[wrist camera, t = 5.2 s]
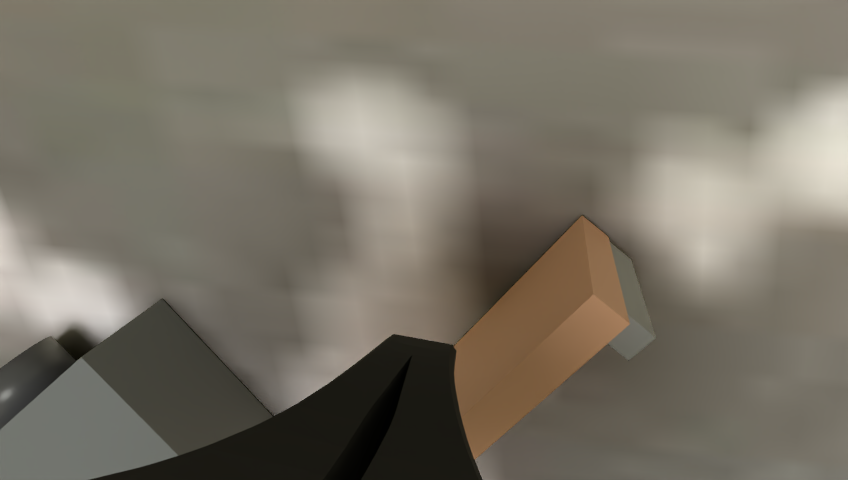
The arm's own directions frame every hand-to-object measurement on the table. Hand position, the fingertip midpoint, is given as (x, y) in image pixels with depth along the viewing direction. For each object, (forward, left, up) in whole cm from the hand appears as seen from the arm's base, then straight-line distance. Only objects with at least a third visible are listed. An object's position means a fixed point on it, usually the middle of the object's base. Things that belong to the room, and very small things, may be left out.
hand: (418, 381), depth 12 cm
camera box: (0, +16, -7) cm, 17 cm away
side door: (-3, +3, -7) cm, 8 cm away
